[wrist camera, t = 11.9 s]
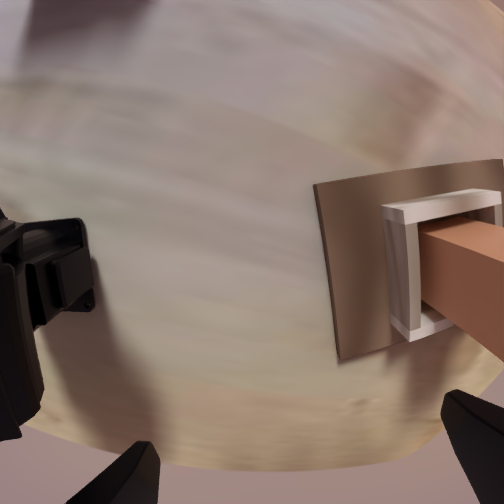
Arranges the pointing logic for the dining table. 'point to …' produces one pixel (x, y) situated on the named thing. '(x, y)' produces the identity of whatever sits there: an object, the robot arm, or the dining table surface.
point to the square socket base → (394, 245)
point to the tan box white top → (465, 276)
